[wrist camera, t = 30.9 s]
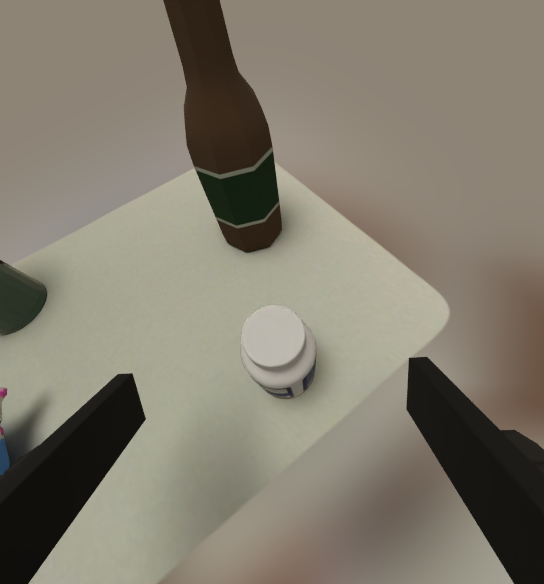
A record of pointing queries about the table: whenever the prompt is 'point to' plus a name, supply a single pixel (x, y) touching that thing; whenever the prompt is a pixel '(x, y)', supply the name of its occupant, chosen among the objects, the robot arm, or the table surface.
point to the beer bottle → (225, 128)
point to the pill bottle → (278, 351)
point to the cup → (18, 299)
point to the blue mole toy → (0, 451)
